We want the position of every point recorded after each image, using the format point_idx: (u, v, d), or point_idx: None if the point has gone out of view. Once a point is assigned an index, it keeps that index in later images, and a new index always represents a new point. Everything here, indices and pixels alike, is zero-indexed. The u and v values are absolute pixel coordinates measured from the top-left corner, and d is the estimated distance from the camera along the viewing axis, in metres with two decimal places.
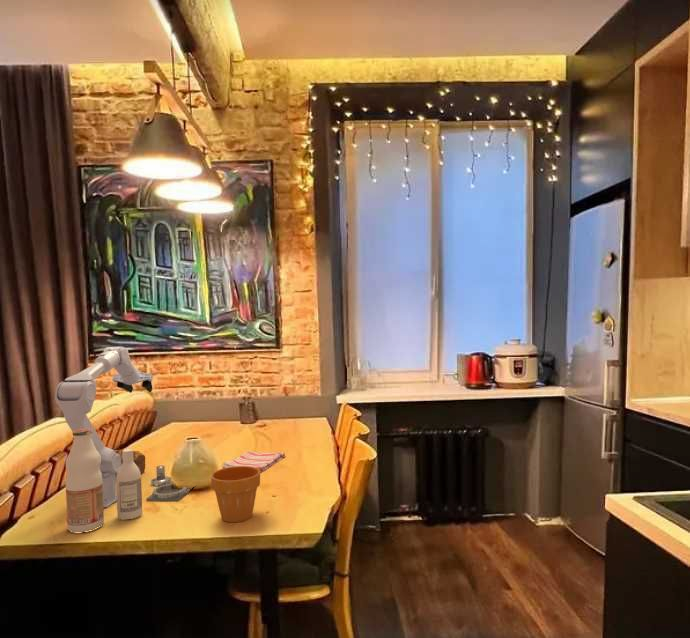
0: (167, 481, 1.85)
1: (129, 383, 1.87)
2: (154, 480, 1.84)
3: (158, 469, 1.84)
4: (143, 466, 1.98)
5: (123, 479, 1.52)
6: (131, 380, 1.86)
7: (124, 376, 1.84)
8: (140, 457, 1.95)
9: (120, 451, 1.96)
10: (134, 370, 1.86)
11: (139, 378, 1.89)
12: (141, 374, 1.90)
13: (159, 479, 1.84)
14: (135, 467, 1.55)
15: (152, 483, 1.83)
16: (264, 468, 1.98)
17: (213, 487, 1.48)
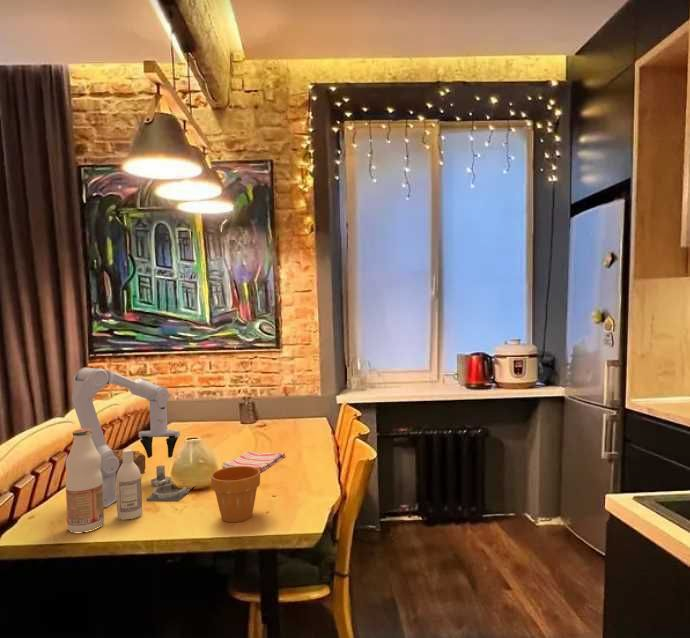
0: (167, 481, 1.85)
1: (155, 433, 1.83)
2: (154, 480, 1.84)
3: (158, 469, 1.84)
4: (143, 466, 1.98)
5: (123, 479, 1.52)
6: (159, 429, 1.83)
7: (155, 421, 1.83)
8: (140, 457, 1.95)
9: (120, 451, 1.96)
10: (166, 420, 1.85)
11: (166, 432, 1.85)
12: None
13: (159, 479, 1.84)
14: (135, 467, 1.55)
15: (152, 483, 1.83)
16: (264, 468, 1.98)
17: (213, 487, 1.48)
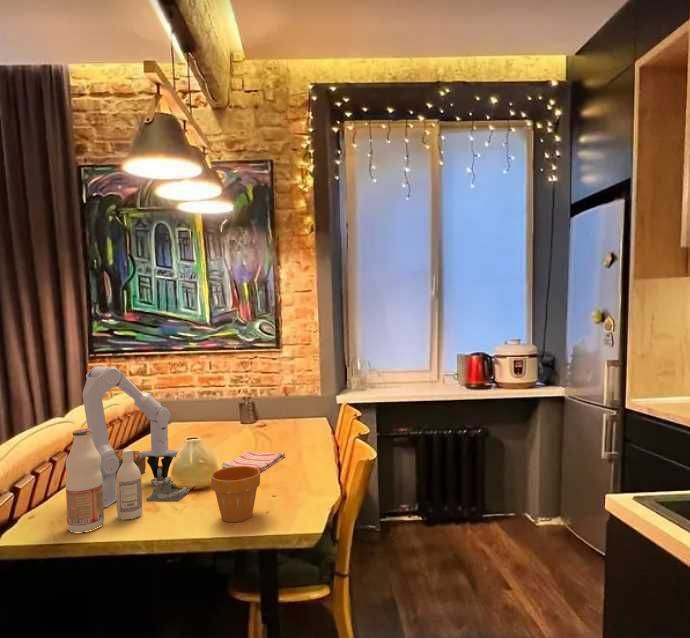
0: (167, 481, 1.85)
1: (156, 453, 1.83)
2: (154, 480, 1.84)
3: (158, 469, 1.84)
4: (143, 466, 1.99)
5: (123, 479, 1.52)
6: (160, 449, 1.83)
7: (156, 441, 1.83)
8: None
9: (120, 451, 1.96)
10: (167, 440, 1.85)
11: (167, 452, 1.85)
12: (170, 451, 1.87)
13: (159, 479, 1.84)
14: (135, 467, 1.55)
15: (152, 483, 1.83)
16: (264, 468, 1.97)
17: (213, 487, 1.48)
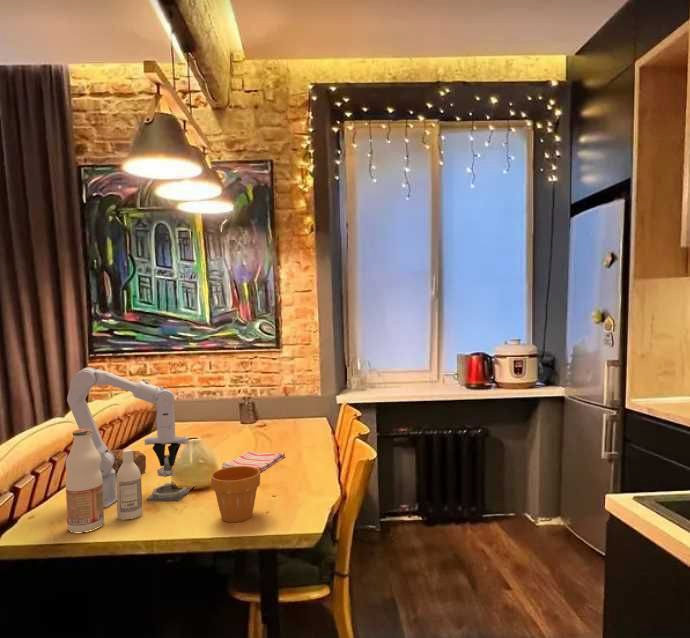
0: None
1: (163, 440, 1.72)
2: (161, 470, 1.74)
3: (165, 458, 1.74)
4: (143, 466, 1.99)
5: (123, 479, 1.52)
6: (166, 436, 1.72)
7: (162, 427, 1.72)
8: (140, 457, 1.95)
9: (120, 451, 1.96)
10: (174, 426, 1.75)
11: (174, 439, 1.74)
12: None
13: (167, 469, 1.74)
14: (135, 467, 1.55)
15: (159, 473, 1.73)
16: (264, 468, 1.97)
17: (213, 487, 1.48)
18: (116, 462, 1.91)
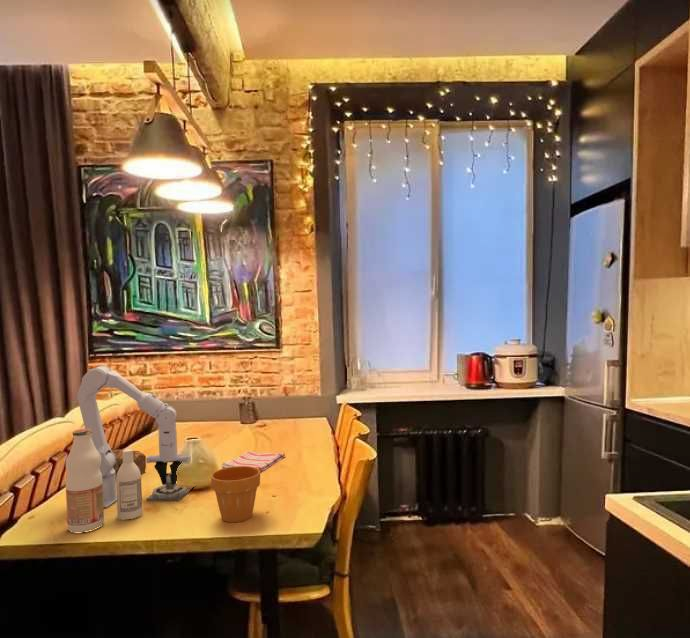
0: (177, 489, 1.73)
1: (164, 458, 1.70)
2: (163, 489, 1.72)
3: (167, 477, 1.72)
4: (144, 466, 1.99)
5: (123, 479, 1.52)
6: (168, 454, 1.70)
7: (164, 445, 1.70)
8: (140, 457, 1.96)
9: (121, 451, 1.96)
10: (176, 444, 1.73)
11: (176, 457, 1.72)
12: None
13: (169, 487, 1.72)
14: (135, 467, 1.55)
15: (161, 492, 1.71)
16: (263, 468, 1.97)
17: (213, 487, 1.48)
18: (116, 462, 1.91)
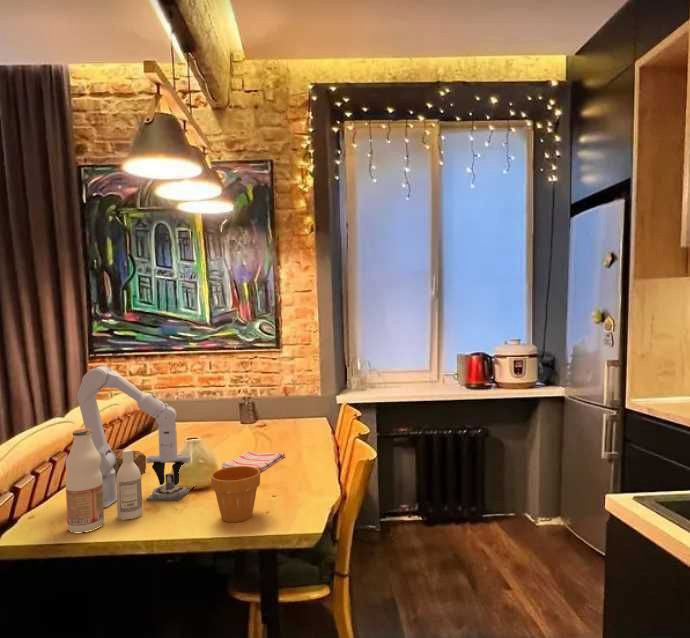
0: (177, 489, 1.73)
1: (164, 459, 1.70)
2: (163, 489, 1.72)
3: (168, 477, 1.72)
4: (144, 466, 1.99)
5: (123, 479, 1.52)
6: (168, 454, 1.70)
7: (164, 445, 1.70)
8: (140, 457, 1.96)
9: (121, 451, 1.96)
10: (176, 444, 1.73)
11: (176, 458, 1.72)
12: (179, 456, 1.74)
13: (169, 488, 1.72)
14: (135, 467, 1.55)
15: (161, 492, 1.71)
16: (263, 468, 1.97)
17: (213, 487, 1.48)
18: (116, 462, 1.91)
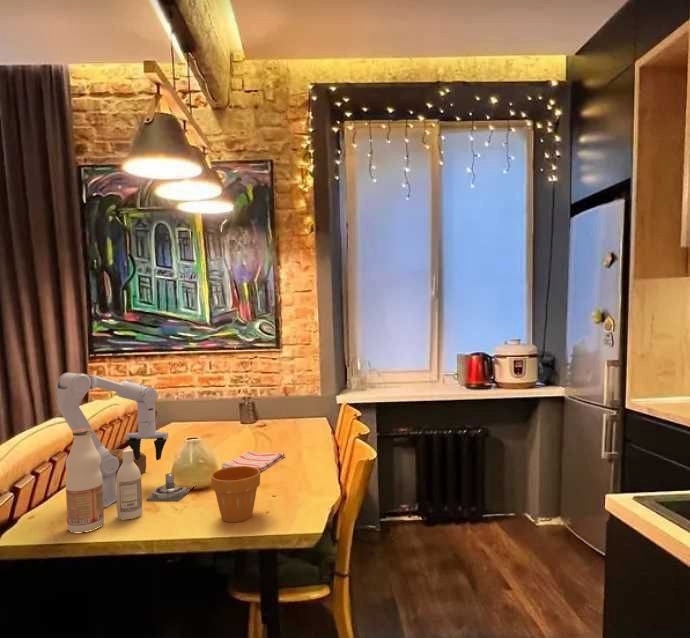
0: (177, 489, 1.73)
1: (143, 435, 1.78)
2: (163, 489, 1.72)
3: (168, 477, 1.72)
4: (144, 466, 1.99)
5: (123, 479, 1.52)
6: (147, 431, 1.79)
7: (143, 422, 1.78)
8: (140, 457, 1.96)
9: (121, 450, 1.96)
10: (154, 421, 1.81)
11: None
12: None
13: (169, 488, 1.72)
14: (135, 467, 1.55)
15: (161, 492, 1.71)
16: (263, 468, 1.97)
17: (213, 487, 1.48)
18: None
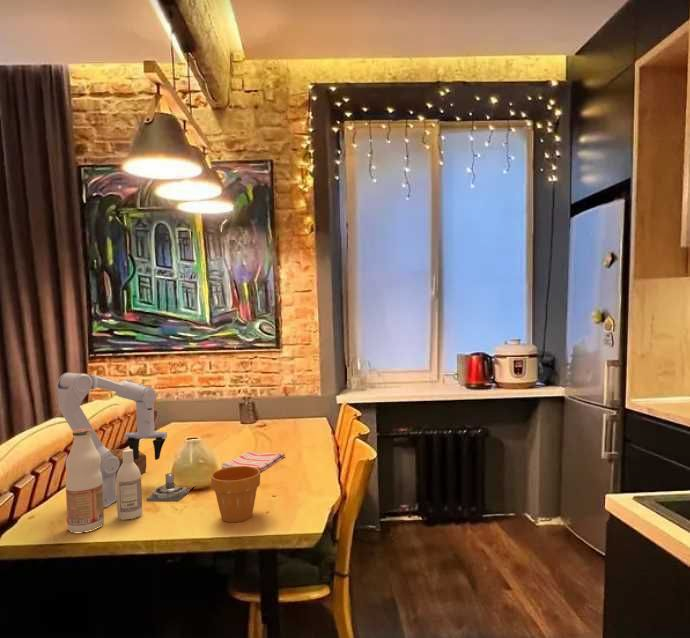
0: (177, 489, 1.73)
1: (142, 435, 1.79)
2: (163, 489, 1.72)
3: (168, 477, 1.72)
4: (144, 466, 1.99)
5: (123, 479, 1.52)
6: (145, 430, 1.79)
7: (141, 422, 1.79)
8: (140, 457, 1.96)
9: (121, 450, 1.97)
10: (153, 421, 1.81)
11: (153, 434, 1.81)
12: (156, 433, 1.83)
13: (169, 488, 1.72)
14: (135, 467, 1.55)
15: (161, 492, 1.71)
16: (263, 468, 1.97)
17: (213, 487, 1.48)
18: None
